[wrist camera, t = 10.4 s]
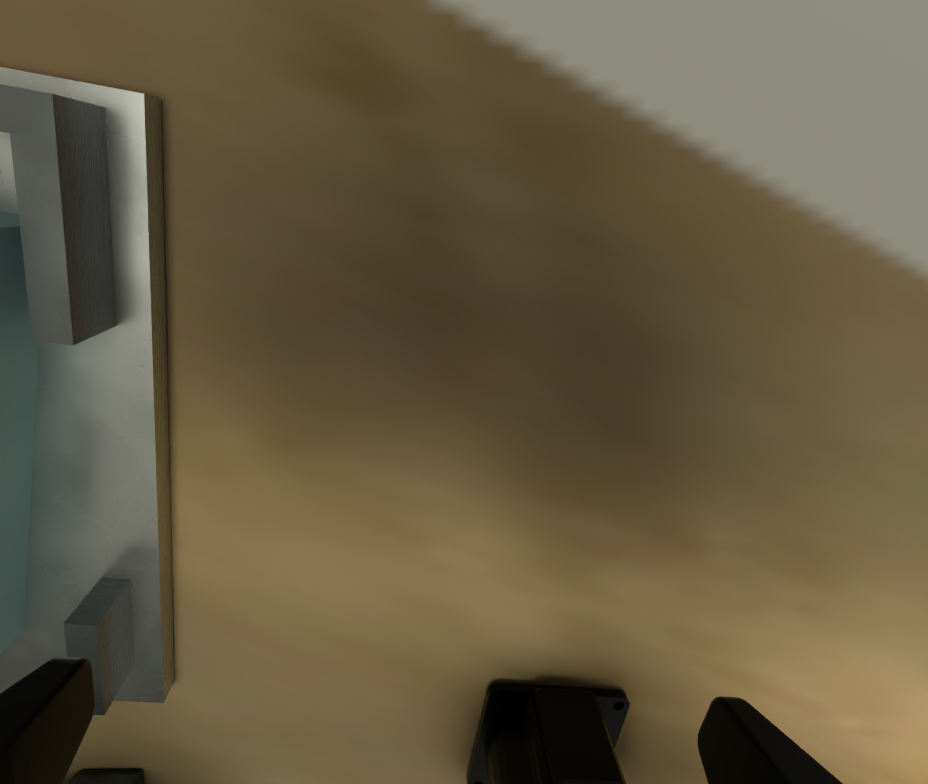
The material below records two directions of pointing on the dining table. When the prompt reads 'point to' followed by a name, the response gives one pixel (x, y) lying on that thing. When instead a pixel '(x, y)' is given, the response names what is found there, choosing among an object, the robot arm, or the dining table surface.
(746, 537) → the dining table surface
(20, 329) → the rail
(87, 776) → the ceramic cat
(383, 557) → the dining table surface
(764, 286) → the dining table surface
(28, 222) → the cup bracket
